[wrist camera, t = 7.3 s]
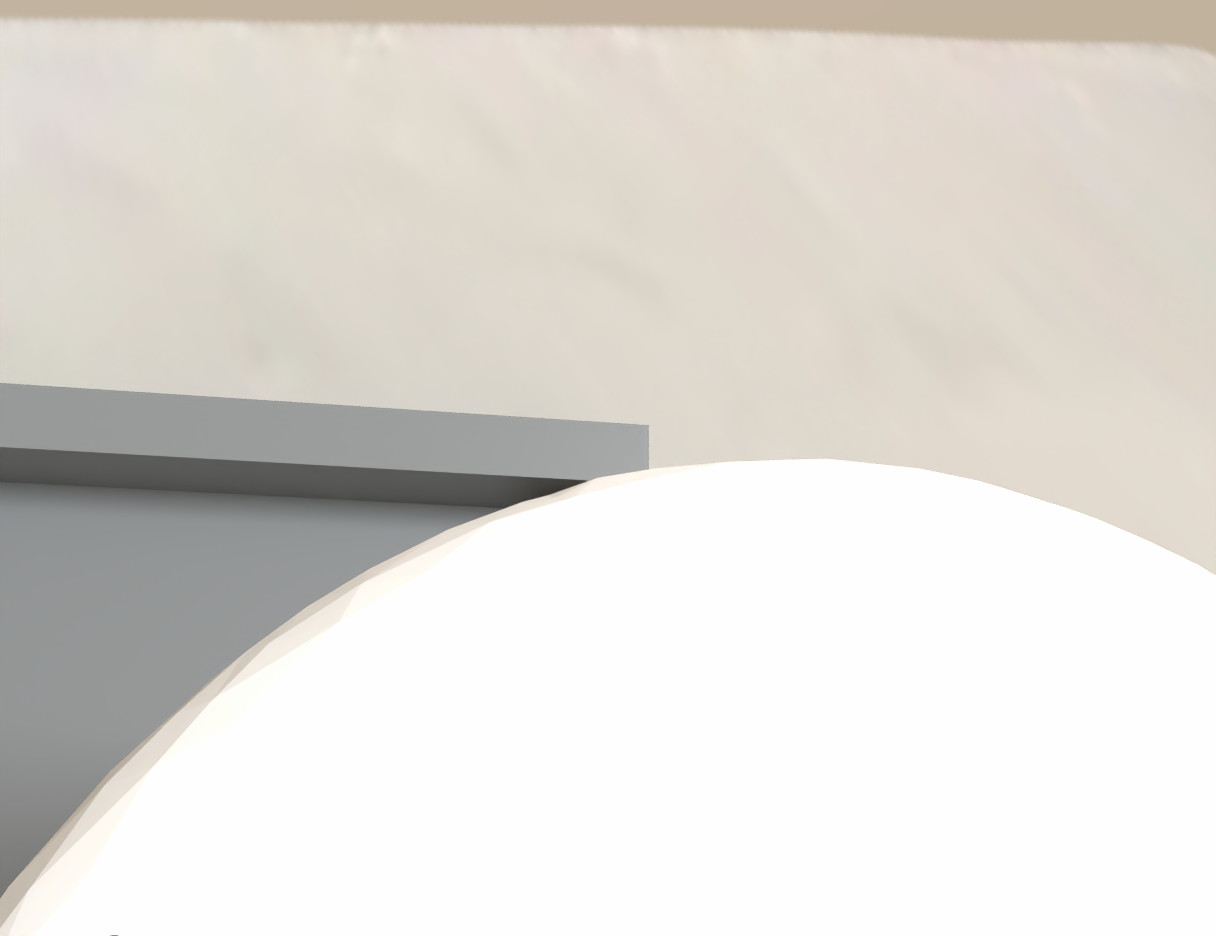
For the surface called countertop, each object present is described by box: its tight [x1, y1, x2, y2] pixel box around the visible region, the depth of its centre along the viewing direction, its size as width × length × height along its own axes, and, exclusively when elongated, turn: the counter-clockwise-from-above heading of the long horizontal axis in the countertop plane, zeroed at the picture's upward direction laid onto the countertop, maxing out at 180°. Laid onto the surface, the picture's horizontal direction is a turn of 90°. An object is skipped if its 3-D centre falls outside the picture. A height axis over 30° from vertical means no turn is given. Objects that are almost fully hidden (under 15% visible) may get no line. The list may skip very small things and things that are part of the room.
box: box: [0, 383, 649, 898], centre depth 18 cm, size 16×16×3 cm
